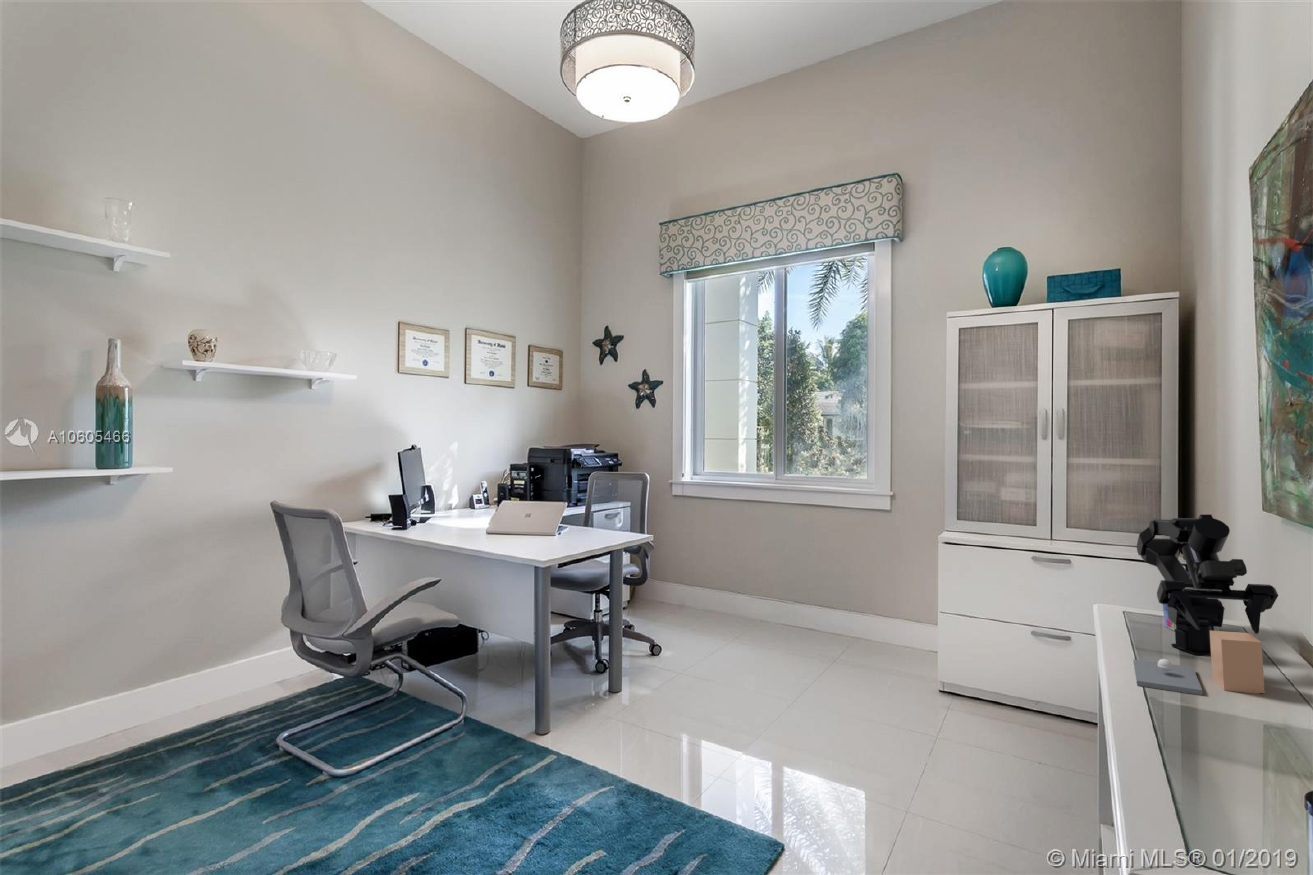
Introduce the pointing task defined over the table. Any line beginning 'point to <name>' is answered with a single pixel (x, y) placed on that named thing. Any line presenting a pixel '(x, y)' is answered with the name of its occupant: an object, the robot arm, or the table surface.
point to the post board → (1167, 676)
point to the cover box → (1237, 661)
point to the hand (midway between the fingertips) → (1227, 630)
